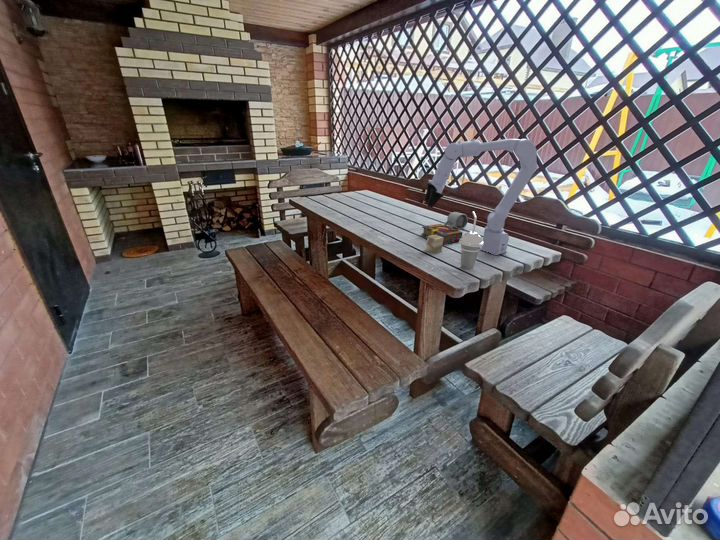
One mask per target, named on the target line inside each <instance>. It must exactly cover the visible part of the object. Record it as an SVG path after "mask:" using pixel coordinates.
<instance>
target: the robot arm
mask: <svg viewBox="0 0 720 540" xmlns="http://www.w3.org/2000/svg"><path fill="white" fill-rule="evenodd" d="M501 150H502V151H503V150H505V151H507V152H510V153H513V152H514V154H515V156H516V157H517V158H518V160H519V164H520V169H519V171H518V172H517V174H516V176H515V177H514V179H513V180H512V182H511V183H510V185H509V187H508V188H507V191H506V192H505V194H504V195H503V197H502V199H501V200H500V202H499V203H498V204H497V206H495V208H494V209H493V211H491V212H490V213H489V214H488V215H487V218H486V219H487V224H486V226H484V231H483V237H482V241H483V242H484V243H483V244H484V245H483V246H481V248H480V250H479V251H482V250H483V252H485V251H486V252H485V253H488V252H489V253H488V254H490V253H491V255H494V256H498V255H501V254H504V253H507V252H508V250H507V248H508V243H509V239H510V237H509V234H508V233H507V232H505V231H504V227H505V223H506V222H505V221H506V219H507V218H508V216H509V212H511V211H510V210H511V209H512V208H513V206H514V205H515V203H516V201H517V199H518V198H519V197H520V195H521V193H522V192H523V190H524V189H525V187H526V186H527V185H528V183H529V181H530V179H531V178H532V176H533V175H534V173H535V172H536V169H537V167H538V163H537V161H538V160H537V154H538V153H537V152H538V150H537V148H536V145H535V143H534V142H533V141H532V140H530V139H527V138H521V139H519V138H505V139H504V138H503V139H499V140H493V141H487V142H481V141H480V140H479V139H476V138H471V139H470V140H469V141H461V140H459V141H458V143H457V142H451V143H449V144H448V145H446V147H445V149H444V154H443V155H442V157H441V159H440V162H439V163H438V166H437V168H436V170H435V173H434V174H433V177H432V179H428V182H427V183H426V188H427V189H426V193H425V198H424V200H425V201H427V207H429V208H434V207H435V206H436V204H437V203H438V202H439V200H440V199H442V198H444V196H445V194H444V193H443V191H444V188H445V187H446V186H445V185H446V184H447V181H448V179H449V178H450V175H451V173H452V170H453V169H454V167H455V163H456V160H457V159H459V157H460V158H469V157H479V155H480V154H481V153H483V152H492V151H501Z"/></svg>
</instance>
